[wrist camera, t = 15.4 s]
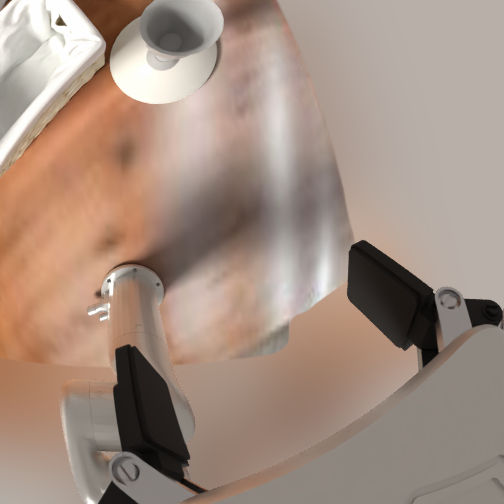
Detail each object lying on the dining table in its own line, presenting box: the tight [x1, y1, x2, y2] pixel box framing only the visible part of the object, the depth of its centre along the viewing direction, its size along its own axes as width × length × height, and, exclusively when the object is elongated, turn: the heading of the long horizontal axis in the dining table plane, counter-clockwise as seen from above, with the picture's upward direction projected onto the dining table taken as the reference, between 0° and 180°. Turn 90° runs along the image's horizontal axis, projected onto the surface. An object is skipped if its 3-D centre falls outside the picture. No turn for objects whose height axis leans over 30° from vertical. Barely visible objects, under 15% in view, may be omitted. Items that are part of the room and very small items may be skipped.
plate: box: [110, 16, 217, 104], centre depth 30 cm, size 16×16×1 cm
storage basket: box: [0, 0, 106, 177], centre depth 18 cm, size 24×16×15 cm
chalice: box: [139, 0, 224, 71], centre depth 23 cm, size 7×7×18 cm
